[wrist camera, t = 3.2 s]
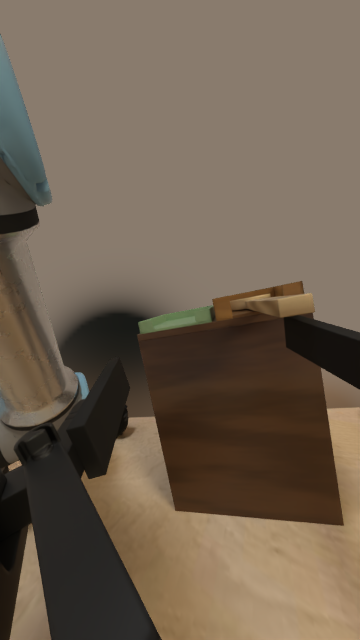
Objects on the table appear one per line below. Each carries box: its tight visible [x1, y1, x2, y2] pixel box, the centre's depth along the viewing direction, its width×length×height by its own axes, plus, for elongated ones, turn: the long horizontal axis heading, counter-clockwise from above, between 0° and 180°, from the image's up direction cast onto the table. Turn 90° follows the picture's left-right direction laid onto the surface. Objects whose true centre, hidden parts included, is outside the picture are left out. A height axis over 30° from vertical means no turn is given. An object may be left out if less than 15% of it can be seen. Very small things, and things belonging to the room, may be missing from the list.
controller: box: [116, 405, 128, 437], centre depth 52 cm, size 4×12×10 cm, turn 73°
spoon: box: [230, 293, 315, 318], centre depth 23 cm, size 23×6×2 cm, turn 168°
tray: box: [138, 306, 215, 334], centre depth 32 cm, size 12×11×2 cm
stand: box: [137, 313, 344, 525], centre depth 32 cm, size 12×23×29 cm, turn 77°
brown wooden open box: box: [213, 281, 304, 321], centre depth 29 cm, size 12×11×3 cm
